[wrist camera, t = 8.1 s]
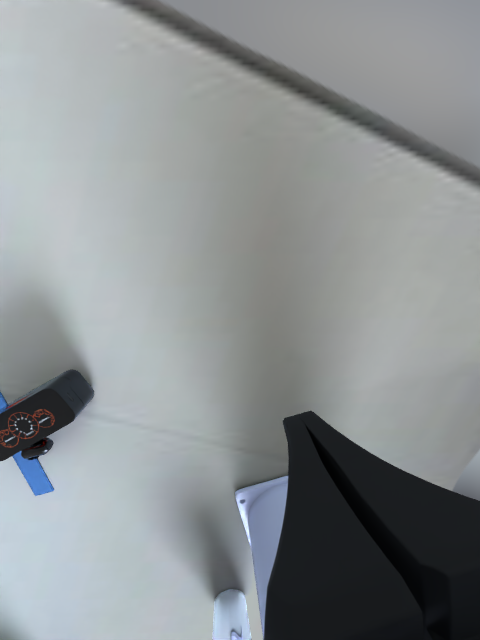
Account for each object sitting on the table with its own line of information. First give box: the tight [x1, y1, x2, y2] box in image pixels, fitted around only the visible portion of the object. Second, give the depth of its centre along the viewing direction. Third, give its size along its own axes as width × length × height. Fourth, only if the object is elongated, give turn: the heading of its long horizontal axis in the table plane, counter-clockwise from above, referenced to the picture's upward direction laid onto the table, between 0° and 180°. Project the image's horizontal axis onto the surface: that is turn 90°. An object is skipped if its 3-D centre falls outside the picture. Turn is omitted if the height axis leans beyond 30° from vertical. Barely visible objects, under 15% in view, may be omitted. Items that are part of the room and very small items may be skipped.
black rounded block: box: [0, 370, 94, 461], centre depth 18 cm, size 5×7×3 cm, turn 119°
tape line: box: [0, 392, 54, 496], centre depth 19 cm, size 14×2×1 cm, turn 13°
